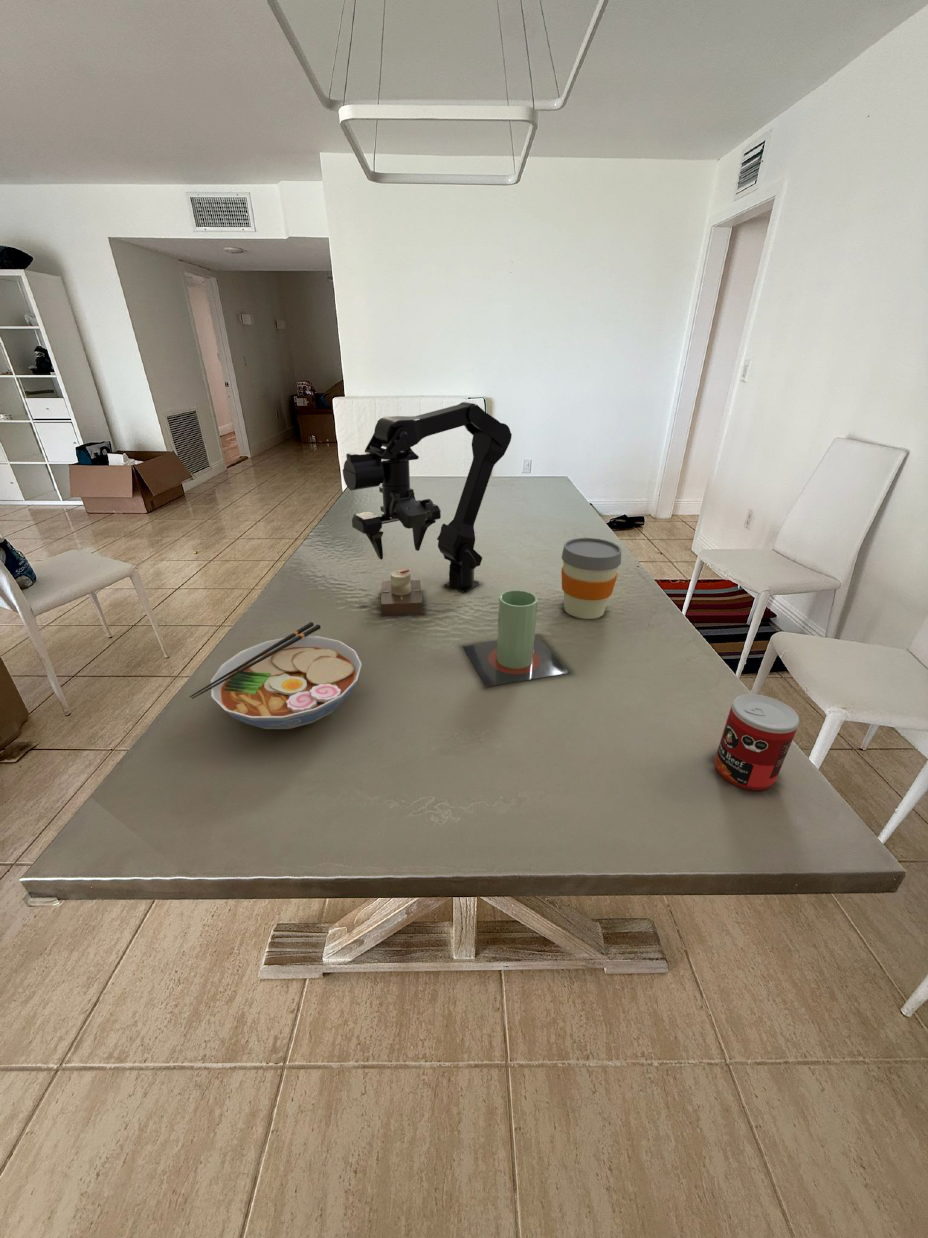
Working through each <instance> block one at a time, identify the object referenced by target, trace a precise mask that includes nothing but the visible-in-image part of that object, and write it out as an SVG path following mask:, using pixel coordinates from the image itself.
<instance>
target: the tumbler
mask: <svg viewBox="0 0 928 1238" xmlns="http://www.w3.org/2000/svg"><path fill="white" fill-rule="evenodd" d="M538 601H539V598H538V596H537V595H536V594H534V593H533V592H531V591H527V590H523V589H509V590H506V591H503V592H502V593H500V594H499V596H498V613H497V616H498V617H497V629H496V642H497V650H496V659H497V661H498V663H499V664H501V665H502V666H504V667H507V668H512V669H520V668H525V667H527V666H529V665H530V664H531V662H532V658H533V647H534V636H536V623H537V612H538V603H539V602H538Z"/></svg>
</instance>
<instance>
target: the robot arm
mask: <svg viewBox="0 0 928 1238" xmlns="http://www.w3.org/2000/svg"><path fill="white" fill-rule="evenodd" d="M460 427H464V428H465V429H466V431H467V432H468V433H470V434H471V435H472V439H471V450H472V461H471V465H470V467H469V471H468V474H467V477H466V480H465V482H464V486H463V489H462V492H461V495H460V498H459V502H458V505H457V508H456V510H455V514H454V517H453V519H451V521H450V522H449V523H448V524H446V523H442V525H441V526H440V532H439V535H437V538H436V540H437V548H438V550H439V552H440V553H441V554H442V556H443V558H444V560H447V561H449V562H450V563H449V571H448V581H447V582H446V583H444V584H443V585H444V587H445V588H448V589H450V590H451V589H452V590H455V591H458V592H462V593H468V592H470V591H471V590H473V589H474V588H475V587H476V586H479V585H480V582H479V581H478V580H475V570H476V568H477V567H480V566H481V564H482V560H483V556H481V555H480V553H479V552H477V551H476V550H475V549H474V548H475V544H476V533H475V523H476V519H477V517H478V514H479V511H480V508H481V505H482V503H483V499H484V497H485V493H486V490H487V487H488V484H489V482H490V479H491V475H492V473H493V470H494V466H495V465H496V464H497V463H498V462H499V461H500V460H501V459H502V458H503V457H504V456H505V454H506V452H507V449H509V446H510V444H511V441H512V438H513V437H512V436H513V435H512V432H511V429H510V427H509V425H507V424H506V423H503V422H500V421H499V420H498V419H497V418H495V417H494V416H493V415H491V414H489V413H487V412H486V411H485V410H484V409H483V408H481V407H480V406H479V405H478V404H477V403H474V402H467V401H462V402H460V403H458V404H456V405H452V406H448V407H445V408H441V409H436V410H433V411H430V412H426V413H422V414H419V415H409V416H408V415H407V416H405V415H403V416H402V415H395V416H394V415H393V416H392V415H391V416H383V417H380V418H379V419H378V420H377V421H376V424H375V426H374V433H373V434H372V437H371V438H370V440H369V441H368V444H367V445H366V446H365V450H364V452H349V453H346V460H345V461H344V463H343V468H342V476H343V480H344V484H345V486H346V487H347V489H348V490H350V491H357V490H364V489H369V488H370V489H372V488H377V487H378V488H379V489H378V491H379V493H382V505H381V506H380V512H382V513H381V514H375V513H373V512H372V511H364V512H359V513H354V514H353V516H352V518H351V526H352V528H353V529H355V530H357V531H358V532H360V533H362V534H364V535H365V536H366V537H367V539H368V540H369V542H370V544H371V545H372V549H374V552H375V554H376V556H377V557H378V559H379V560H383V559H384V550H383V539H382V537H383V535H384V531H382V528H383V525H384V524H390V523H394V522H400V523H401V524H402V526H403V527H404V528H405V529H408V530H409V529H412V538H413V539H412V540H413V546H414V549H415V550H416V552H419V551H420V549H421V546H422V543H423V541H424V537H425V534H426V532H427V530H428V528H429V527H430V526H431V525H434V524H436V522H437V520H440V519H441V518H442V512H441V511H442V510H441V508H440V506H439V505H437V504H435V503H434V501H433V500H431V498H426V499H418V500H416V496H415V491H414V489H413V488H411V477H410V476H411V475H410V461H415V460H419V458H420V456H419V455H418V454H417V453H415V451H414V450H413V449H412V447H414V446H416V445H418V444H419V443H420V442H421V441H422V440H423V439H425V438H427V437H430V436H433V435H436V434H439V433H443V432H446V431H450V430H453V429H457V428H460ZM383 447H384V448H383ZM380 485H381V486H380Z"/></svg>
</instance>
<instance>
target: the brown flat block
mask: <svg viewBox="0 0 928 1238" xmlns="http://www.w3.org/2000/svg"><path fill="white" fill-rule="evenodd" d="M380 595H381V596H380V611H381V617H397V616H398V617H399V616H419V615H424V612H423V611H424V610H423V607H424V606H423V605H424V604H423V595H422V586H421V580H420V579H416V580H413V579H412V580H411V592H410V593H409V594H407V595H395V594H393V593H392V589H391V580H388V581H381V593H380Z"/></svg>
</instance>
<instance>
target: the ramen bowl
mask: <svg viewBox="0 0 928 1238" xmlns="http://www.w3.org/2000/svg"><path fill="white" fill-rule="evenodd" d="M320 629H321V625H320V624H316V625H315V624H314V622H313V621H309V622H308V623H306V624H305V625H304V626H302V627H300V628H298V629H297V630H295V631H294V632H292V633H290V634H289V635H287V636H285V637H282V638H277V639H272V640H266V641H264V642H260V643H259V644H255V645H253V646H251V647H248V648H245V649H243V650H241V651H239V652H238V653H236V654H235V655H234V656H232V657H230V658H229V659H228V660H226V661H225V662H223V663H222V664H221V665H220V667H219V668H218V669H217V671H216V672H215V674H214V675H213V677H212V678H211V679H210V683H209V684H207V685H206V686H204V687H203V688H201V689H200V690H198V691H195V692H194V693H193V694H191V695H189V698H191V699H192V700H193V699H195V698H197V697H199V696H201V695H202V694H204V693H206V692H208V691H209V690H210V693H211V694H210V695H211V698H212V699H213V700H214V701H215V702H216V703H217V704H218V705H219V706H220V707H221V708H222V709H223V710H224V711H225V712H226V713H227V714H228V715H229V716H231V717H232V718H234V719H235V720H237V721H239V722H241V723H244V724H247V725H249V726H254V727H257V728H261V729H264V730H290V729H294V728H295V729H296V728H298V727H302V726H306V725H309V724H313V723H315V722H317V721H319V720H321V719H323V718H324V717H326V716H328V715H330V714H332V713H333V712H334V711H335V710H336V709H337V708H338V707H339V706H340V705H342V703H343V702H344V701H345V699H347V697H348V696H350V694H351V692H352V691H353V690H354V688H355V686H356V684H357V682H358V679H359V676H360V672H361V669H362V664H363V663H362V661H361V660H360V657H359V656H358V653H357V651H356V650H355V649H353V648H352V647H350V646H348V645H347V644H346V643H344V642H342V641H341V640H338V639H333V638H329V637H323V636H320V635H312V634H313V633H315V632H317V631H318V630H320Z"/></svg>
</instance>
